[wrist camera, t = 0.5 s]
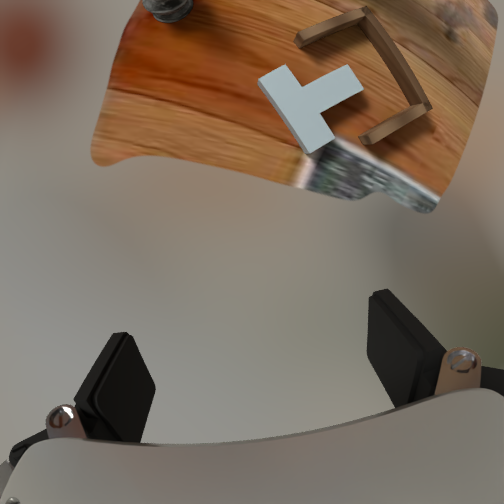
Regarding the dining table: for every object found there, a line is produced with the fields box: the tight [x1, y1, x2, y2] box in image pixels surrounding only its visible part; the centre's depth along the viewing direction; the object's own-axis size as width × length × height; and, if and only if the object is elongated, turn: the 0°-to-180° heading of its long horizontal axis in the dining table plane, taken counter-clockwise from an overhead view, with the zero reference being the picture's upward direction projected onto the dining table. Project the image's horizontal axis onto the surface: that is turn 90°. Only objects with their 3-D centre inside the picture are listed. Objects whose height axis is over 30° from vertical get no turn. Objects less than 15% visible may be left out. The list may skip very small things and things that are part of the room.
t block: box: [258, 64, 364, 154], centre depth 29 cm, size 10×10×2 cm
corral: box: [293, 6, 433, 145], centre depth 28 cm, size 11×15×3 cm
